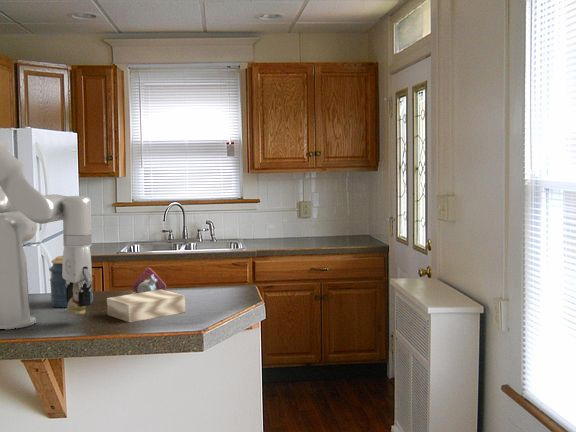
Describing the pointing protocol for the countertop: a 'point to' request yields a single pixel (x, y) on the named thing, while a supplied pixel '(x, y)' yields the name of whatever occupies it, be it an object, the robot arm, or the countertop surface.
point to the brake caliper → (148, 282)
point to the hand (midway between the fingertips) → (78, 303)
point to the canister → (60, 284)
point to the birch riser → (145, 305)
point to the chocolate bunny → (75, 302)
